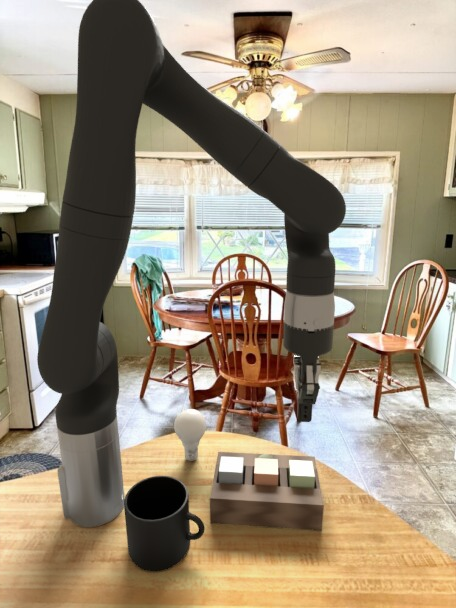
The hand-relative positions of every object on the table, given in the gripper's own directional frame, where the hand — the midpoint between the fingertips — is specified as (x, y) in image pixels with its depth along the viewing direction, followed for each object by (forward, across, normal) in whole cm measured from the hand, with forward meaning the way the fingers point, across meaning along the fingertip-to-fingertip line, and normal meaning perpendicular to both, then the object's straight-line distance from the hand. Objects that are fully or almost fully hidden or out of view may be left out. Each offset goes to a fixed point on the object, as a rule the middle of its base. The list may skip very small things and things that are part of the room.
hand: (304, 419), depth 66 cm
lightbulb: (+16, -10, -21) cm, 29 cm away
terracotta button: (+14, 0, -6) cm, 15 cm away
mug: (+16, +11, -21) cm, 29 cm away
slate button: (+14, 0, -12) cm, 18 cm away
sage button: (+14, 0, 0) cm, 14 cm away
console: (+16, 0, -6) cm, 17 cm away
